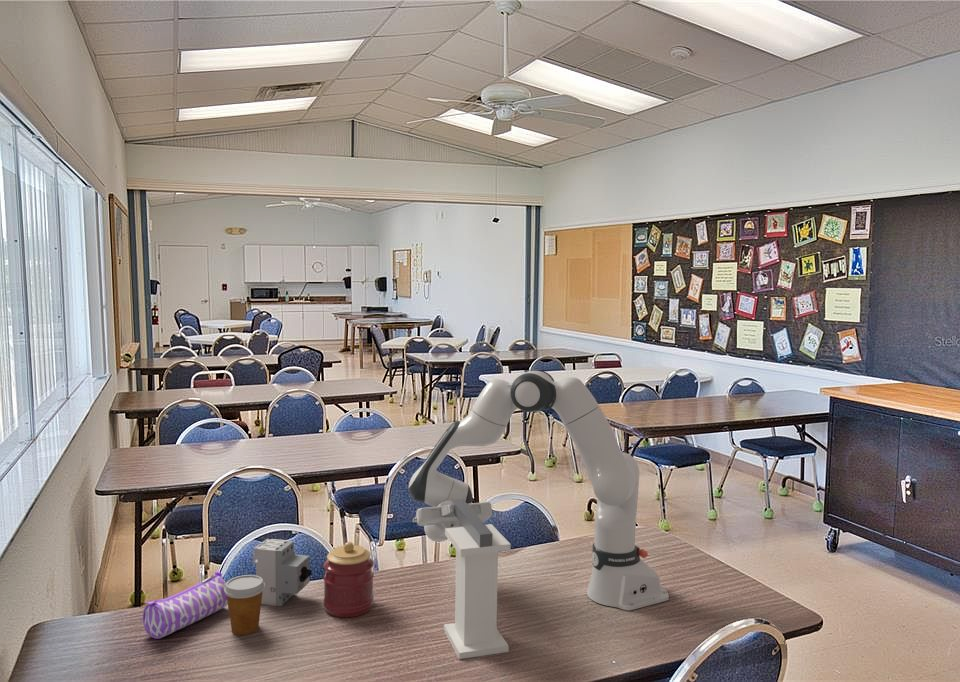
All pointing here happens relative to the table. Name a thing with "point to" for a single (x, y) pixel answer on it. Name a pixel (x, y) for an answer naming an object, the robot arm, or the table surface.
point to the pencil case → (185, 607)
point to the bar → (472, 523)
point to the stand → (476, 595)
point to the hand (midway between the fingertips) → (460, 507)
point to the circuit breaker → (280, 570)
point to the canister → (348, 581)
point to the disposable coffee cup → (244, 603)
